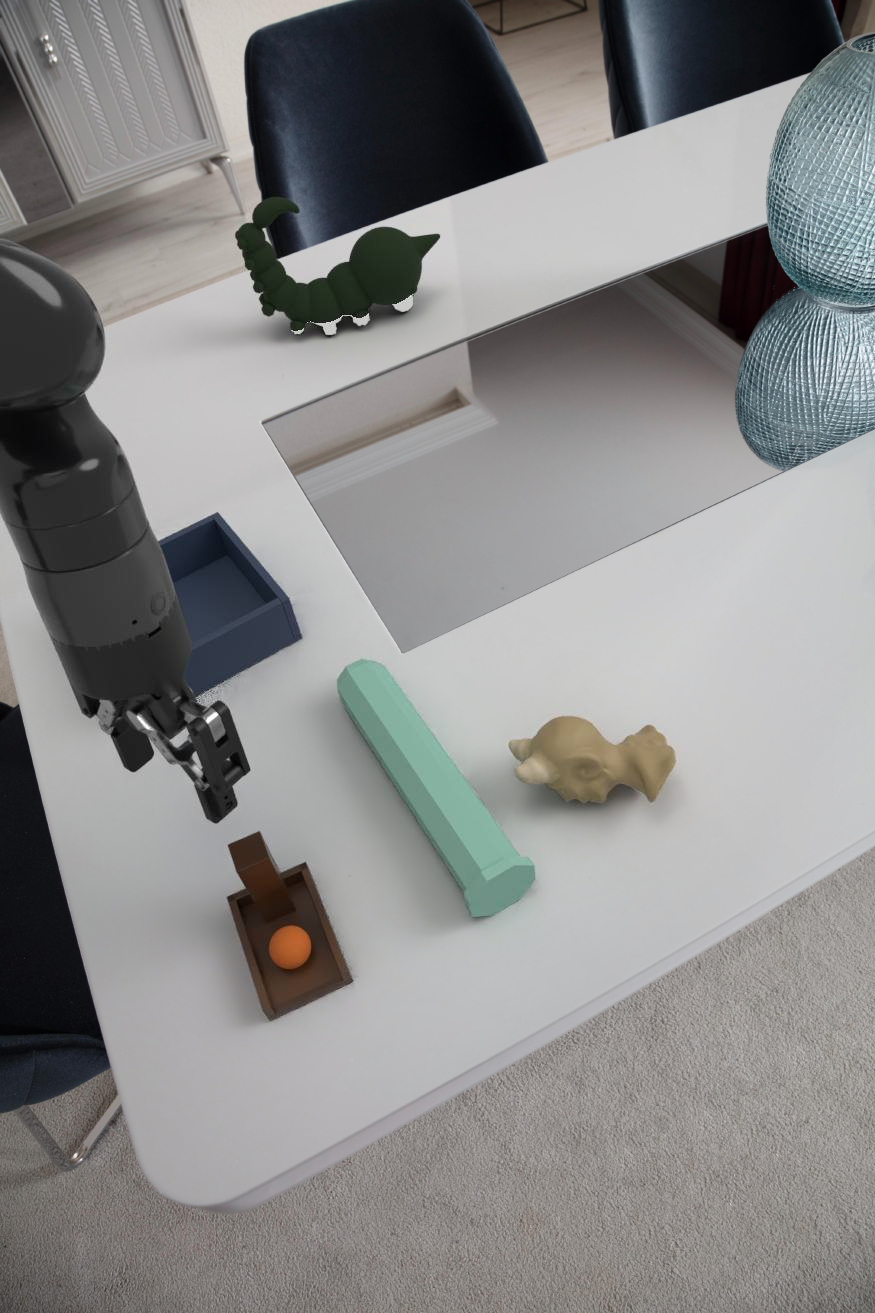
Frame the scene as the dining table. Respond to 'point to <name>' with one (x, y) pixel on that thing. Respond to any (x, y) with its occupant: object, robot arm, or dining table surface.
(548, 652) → the dining table surface
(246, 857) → the scoop
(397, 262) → the toy figurine
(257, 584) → the tote
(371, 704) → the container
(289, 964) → the toy ball
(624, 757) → the tan toy creature
